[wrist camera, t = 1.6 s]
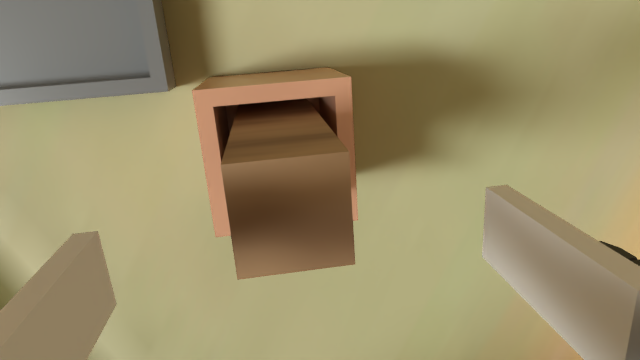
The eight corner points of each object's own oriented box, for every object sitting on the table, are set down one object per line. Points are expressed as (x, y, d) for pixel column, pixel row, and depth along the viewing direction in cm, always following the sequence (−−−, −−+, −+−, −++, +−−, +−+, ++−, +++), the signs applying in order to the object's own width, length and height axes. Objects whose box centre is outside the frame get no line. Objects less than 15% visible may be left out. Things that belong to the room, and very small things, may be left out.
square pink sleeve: (335, 178, 37) (357, 220, 28) (225, 190, 36) (215, 237, 27) (327, 67, 34) (351, 76, 25) (209, 77, 33) (192, 90, 24)
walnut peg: (310, 160, 35) (354, 264, 19) (247, 167, 34) (237, 279, 18) (305, 97, 33) (349, 151, 17) (239, 103, 33) (220, 164, 17)
